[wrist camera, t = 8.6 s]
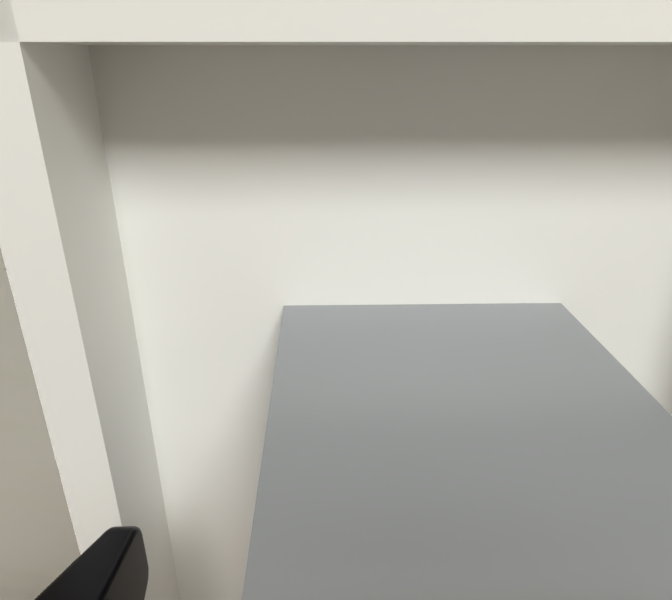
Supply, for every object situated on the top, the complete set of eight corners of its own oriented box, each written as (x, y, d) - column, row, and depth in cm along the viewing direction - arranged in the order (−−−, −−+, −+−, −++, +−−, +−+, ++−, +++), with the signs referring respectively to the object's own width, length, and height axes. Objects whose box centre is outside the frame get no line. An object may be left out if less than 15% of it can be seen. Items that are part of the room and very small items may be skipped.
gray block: (291, 517, 12) (268, 916, 6) (283, 305, 10) (238, 623, 4) (522, 512, 12) (694, 898, 6) (560, 302, 10) (859, 608, 4)
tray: (51, -10, 9) (-75, -41, 6) (801, -9, 9) (1017, -37, 6) (169, 632, 15) (135, 764, 12) (612, 620, 15) (679, 746, 12)
